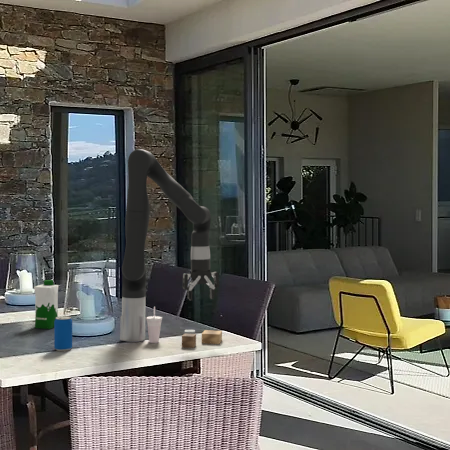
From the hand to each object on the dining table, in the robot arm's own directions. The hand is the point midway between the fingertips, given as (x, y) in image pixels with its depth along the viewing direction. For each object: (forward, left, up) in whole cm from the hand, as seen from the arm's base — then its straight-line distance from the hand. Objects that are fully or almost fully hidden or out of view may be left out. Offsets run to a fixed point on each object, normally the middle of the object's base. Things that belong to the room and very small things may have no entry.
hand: (201, 299), depth 259 cm
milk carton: (-72, +16, -18) cm, 75 cm away
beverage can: (-48, -21, -18) cm, 55 cm away
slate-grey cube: (-6, +5, -18) cm, 19 cm away
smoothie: (-19, -1, -18) cm, 26 cm away
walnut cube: (-4, -5, -18) cm, 18 cm away
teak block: (+3, +5, -18) cm, 19 cm away
